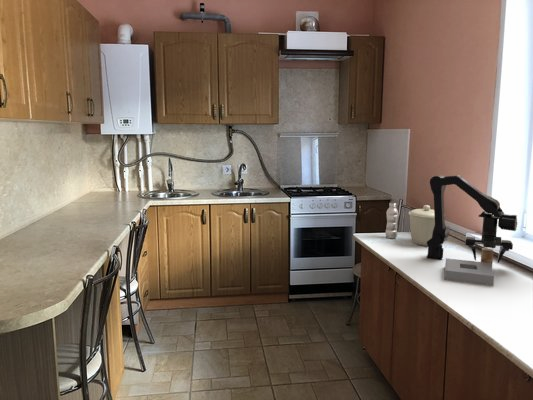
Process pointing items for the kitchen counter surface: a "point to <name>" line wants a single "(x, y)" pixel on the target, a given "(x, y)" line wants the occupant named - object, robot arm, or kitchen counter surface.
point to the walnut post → (487, 255)
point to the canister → (422, 225)
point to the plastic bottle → (391, 221)
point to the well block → (469, 271)
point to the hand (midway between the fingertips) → (486, 261)
